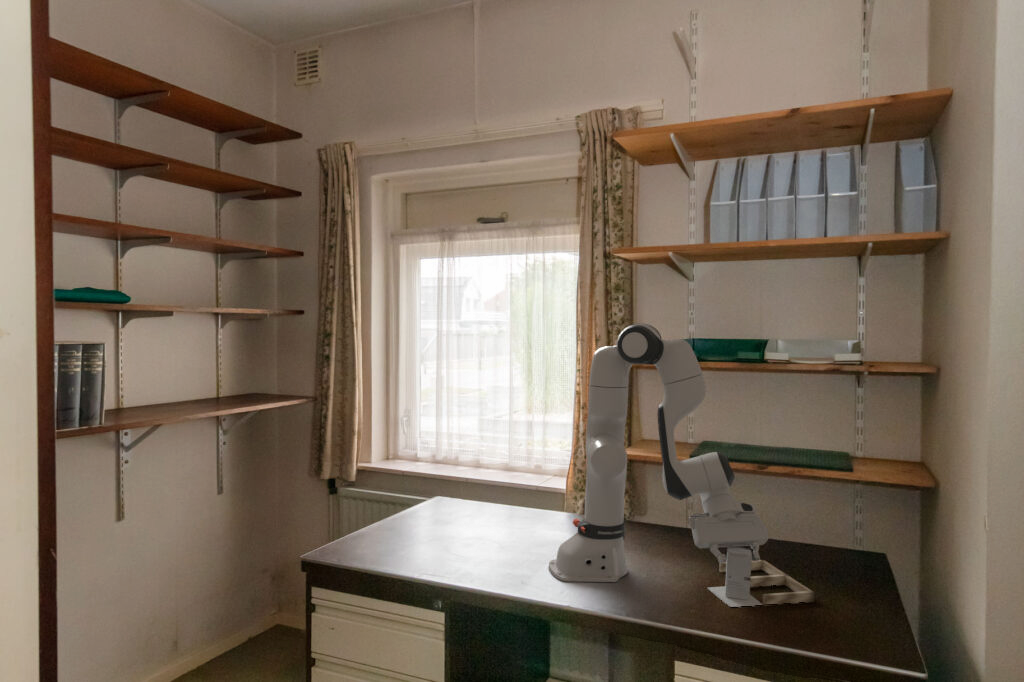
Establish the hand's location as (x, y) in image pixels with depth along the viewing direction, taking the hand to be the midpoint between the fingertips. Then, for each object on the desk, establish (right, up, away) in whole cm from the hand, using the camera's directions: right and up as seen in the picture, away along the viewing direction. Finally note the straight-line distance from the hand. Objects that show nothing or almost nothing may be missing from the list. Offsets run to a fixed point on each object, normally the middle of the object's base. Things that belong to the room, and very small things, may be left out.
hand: (739, 561), depth 172 cm
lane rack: (+10, -10, +9) cm, 16 cm away
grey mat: (-1, -10, +2) cm, 10 cm away
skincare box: (0, -10, +2) cm, 10 cm away
